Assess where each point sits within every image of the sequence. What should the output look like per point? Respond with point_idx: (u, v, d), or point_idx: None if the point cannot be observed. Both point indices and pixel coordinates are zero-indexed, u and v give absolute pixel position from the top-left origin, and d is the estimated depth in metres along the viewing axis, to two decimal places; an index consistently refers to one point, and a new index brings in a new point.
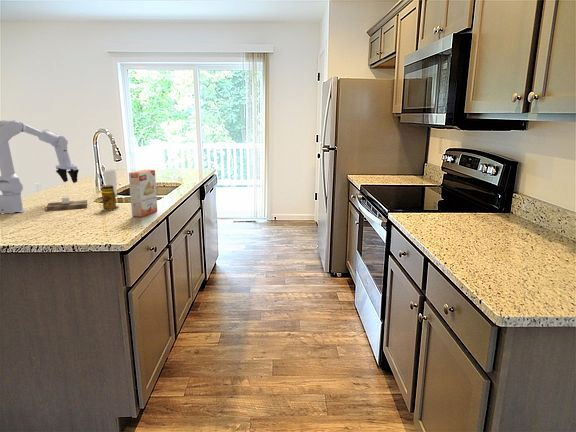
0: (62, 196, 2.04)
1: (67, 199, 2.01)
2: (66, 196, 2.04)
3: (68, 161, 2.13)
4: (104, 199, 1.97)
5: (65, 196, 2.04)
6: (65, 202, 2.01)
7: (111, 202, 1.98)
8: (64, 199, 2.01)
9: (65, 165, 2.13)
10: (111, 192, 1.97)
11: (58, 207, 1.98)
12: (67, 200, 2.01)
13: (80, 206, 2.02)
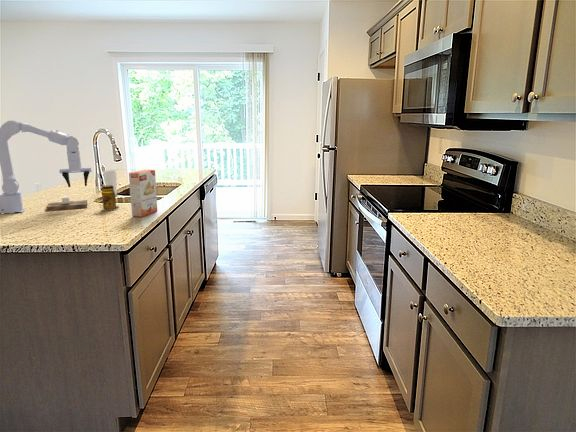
0: (62, 196, 2.04)
1: (67, 199, 2.01)
2: (66, 196, 2.04)
3: (80, 163, 2.04)
4: (104, 199, 1.97)
5: (65, 196, 2.04)
6: (65, 202, 2.01)
7: (111, 202, 1.98)
8: (64, 199, 2.01)
9: (79, 167, 2.02)
10: (111, 192, 1.97)
11: (58, 207, 1.98)
12: (67, 200, 2.01)
13: (80, 206, 2.02)
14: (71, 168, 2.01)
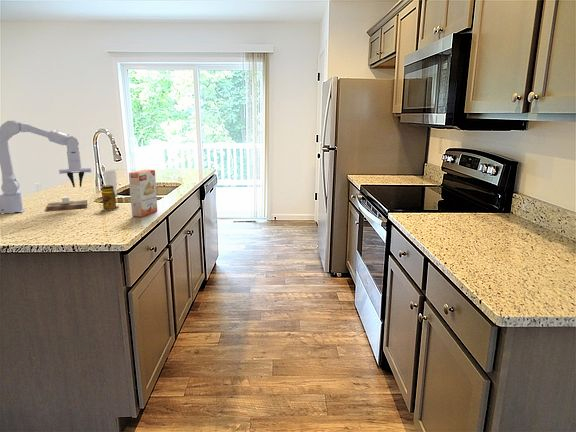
0: (62, 196, 2.04)
1: (67, 199, 2.01)
2: (66, 196, 2.04)
3: (80, 163, 2.03)
4: (104, 199, 1.97)
5: (65, 196, 2.04)
6: (65, 202, 2.01)
7: (111, 202, 1.98)
8: (64, 199, 2.01)
9: (79, 167, 2.01)
10: (111, 192, 1.97)
11: (58, 207, 1.98)
12: (67, 200, 2.01)
13: (80, 206, 2.02)
14: (71, 168, 1.99)
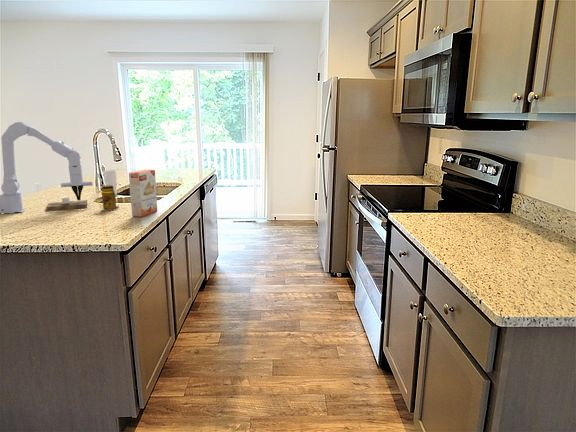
0: (62, 196, 2.04)
1: (67, 199, 2.01)
2: (66, 196, 2.04)
3: None
4: (104, 199, 1.97)
5: (65, 196, 2.04)
6: (65, 202, 2.01)
7: (111, 202, 1.98)
8: (64, 199, 2.01)
9: (81, 181, 2.03)
10: (111, 192, 1.97)
11: (58, 207, 1.98)
12: (67, 200, 2.01)
13: (80, 206, 2.02)
14: (73, 182, 2.01)
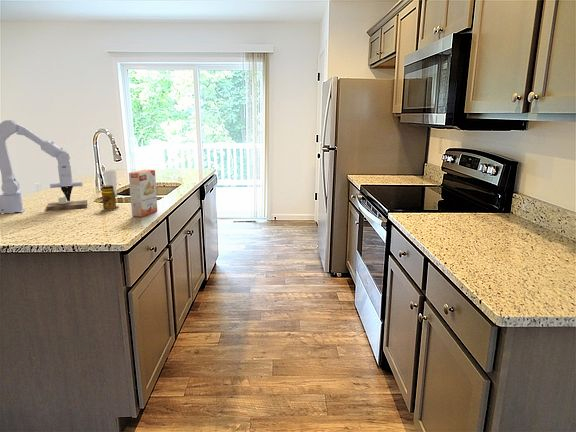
0: None
1: (64, 199, 2.01)
2: (63, 196, 2.03)
3: (71, 177, 2.02)
4: (104, 199, 1.97)
5: (62, 196, 2.03)
6: (62, 202, 2.00)
7: (111, 202, 1.98)
8: (61, 199, 2.00)
9: (70, 181, 2.01)
10: (111, 192, 1.97)
11: (58, 207, 1.98)
12: (64, 200, 2.01)
13: (80, 206, 2.02)
14: (62, 183, 1.99)
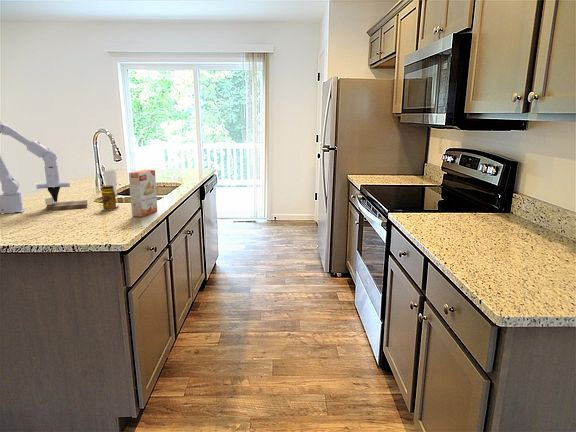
0: (46, 197, 2.01)
1: (50, 200, 1.98)
2: (50, 197, 2.01)
3: (58, 178, 2.00)
4: (104, 199, 1.97)
5: (49, 197, 2.01)
6: (48, 203, 1.98)
7: (111, 202, 1.98)
8: (47, 200, 1.98)
9: (57, 182, 1.98)
10: (111, 192, 1.97)
11: (58, 207, 1.98)
12: (50, 201, 1.98)
13: (80, 206, 2.02)
14: (49, 183, 1.96)
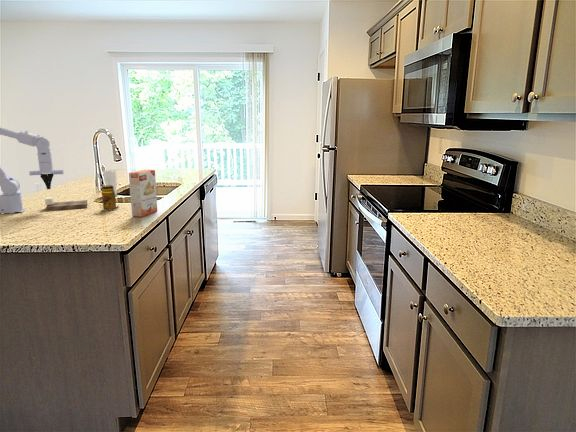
0: None
1: (50, 200, 1.98)
2: (49, 197, 2.01)
3: None
4: (104, 199, 1.97)
5: (48, 197, 2.01)
6: (48, 203, 1.98)
7: (111, 202, 1.98)
8: (47, 200, 1.98)
9: (51, 169, 1.95)
10: (111, 192, 1.97)
11: (58, 207, 1.98)
12: (50, 201, 1.98)
13: (80, 206, 2.02)
14: (42, 170, 1.93)
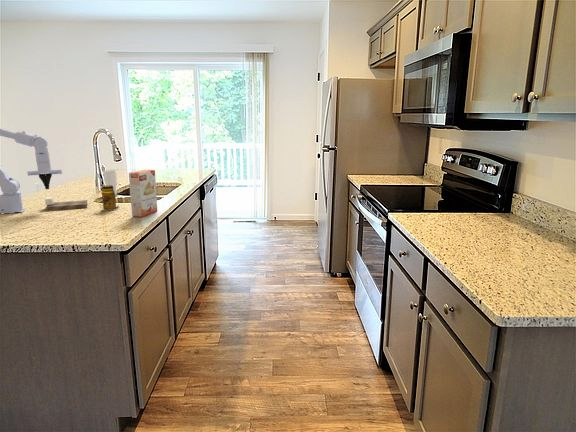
0: None
1: (50, 200, 1.98)
2: (49, 197, 2.01)
3: (50, 165, 1.96)
4: (104, 199, 1.97)
5: (48, 197, 2.01)
6: (48, 203, 1.98)
7: (111, 202, 1.98)
8: (47, 200, 1.98)
9: (49, 169, 1.94)
10: (111, 192, 1.97)
11: (58, 207, 1.98)
12: (50, 201, 1.98)
13: (80, 206, 2.02)
14: (40, 170, 1.92)
